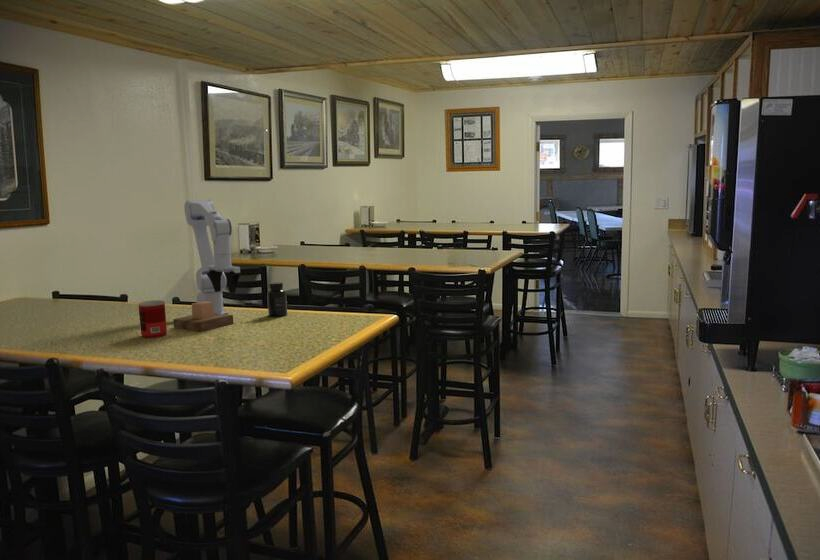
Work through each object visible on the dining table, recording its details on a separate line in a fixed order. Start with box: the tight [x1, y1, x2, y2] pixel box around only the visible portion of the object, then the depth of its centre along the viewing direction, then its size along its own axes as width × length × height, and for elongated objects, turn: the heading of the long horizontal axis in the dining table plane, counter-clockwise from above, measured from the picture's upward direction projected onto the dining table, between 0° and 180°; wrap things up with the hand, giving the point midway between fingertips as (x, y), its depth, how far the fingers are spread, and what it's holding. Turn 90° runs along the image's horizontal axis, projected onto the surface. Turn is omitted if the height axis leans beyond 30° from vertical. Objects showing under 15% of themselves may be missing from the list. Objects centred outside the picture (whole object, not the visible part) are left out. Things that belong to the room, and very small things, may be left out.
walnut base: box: [172, 313, 234, 332], centre depth 233 cm, size 14×14×3 cm
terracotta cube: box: [191, 301, 214, 319], centre depth 232 cm, size 5×5×5 cm
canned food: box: [138, 299, 168, 339], centre depth 219 cm, size 8×8×11 cm
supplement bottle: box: [266, 281, 288, 318], centre depth 247 cm, size 7×7×12 cm
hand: (225, 292), depth 239 cm, fingers open, 7 cm apart
